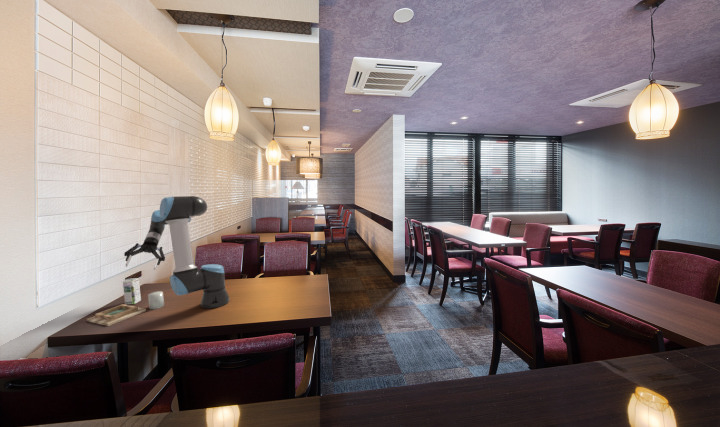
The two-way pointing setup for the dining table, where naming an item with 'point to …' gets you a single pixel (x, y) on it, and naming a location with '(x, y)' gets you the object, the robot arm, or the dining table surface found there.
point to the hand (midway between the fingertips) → (140, 267)
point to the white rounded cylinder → (156, 300)
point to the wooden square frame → (115, 314)
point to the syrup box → (131, 291)
